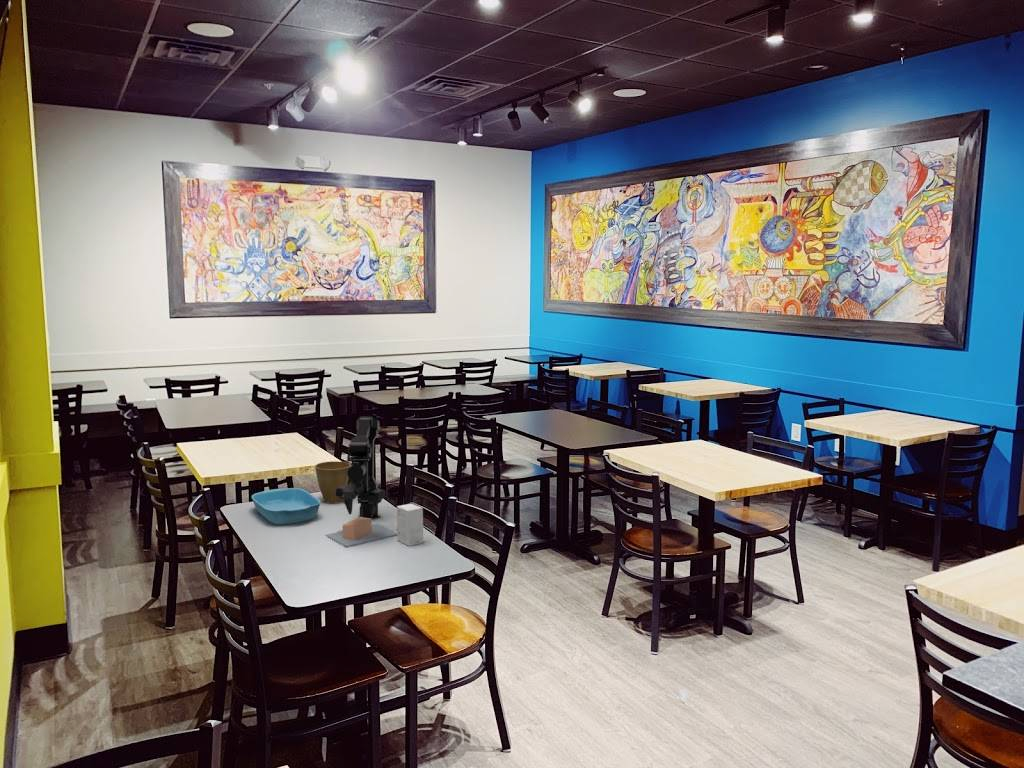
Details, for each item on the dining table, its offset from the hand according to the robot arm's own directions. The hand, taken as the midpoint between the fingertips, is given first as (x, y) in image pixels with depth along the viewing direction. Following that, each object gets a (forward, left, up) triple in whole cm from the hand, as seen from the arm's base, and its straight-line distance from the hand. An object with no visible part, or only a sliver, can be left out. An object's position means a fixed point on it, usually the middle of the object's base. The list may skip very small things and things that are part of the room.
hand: (360, 515), depth 289 cm
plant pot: (-14, -48, -8) cm, 51 cm away
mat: (0, +1, -8) cm, 8 cm away
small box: (-10, +18, -8) cm, 22 cm away
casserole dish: (+10, -43, -8) cm, 45 cm away
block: (-3, -2, -4) cm, 6 cm away
